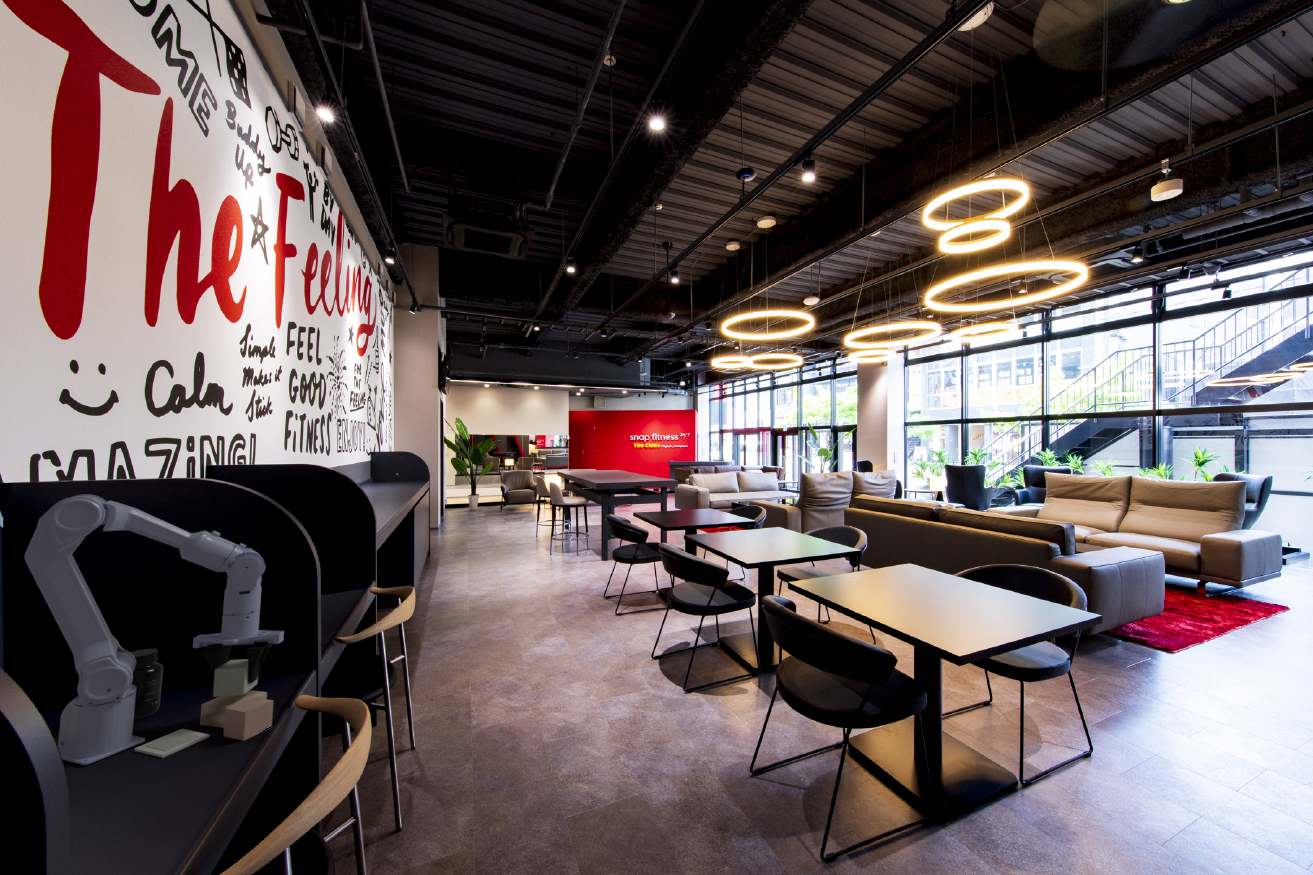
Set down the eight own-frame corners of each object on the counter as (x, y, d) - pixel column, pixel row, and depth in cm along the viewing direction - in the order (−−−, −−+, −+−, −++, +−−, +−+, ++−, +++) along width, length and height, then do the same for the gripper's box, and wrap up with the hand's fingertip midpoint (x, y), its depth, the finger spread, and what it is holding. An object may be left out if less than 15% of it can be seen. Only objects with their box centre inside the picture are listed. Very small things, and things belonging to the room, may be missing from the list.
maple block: (199, 725, 96) (201, 703, 96) (236, 708, 102) (238, 688, 103) (230, 729, 94) (231, 707, 95) (265, 712, 101) (267, 692, 101)
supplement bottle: (98, 725, 95) (105, 659, 96) (128, 708, 101) (134, 647, 102) (142, 722, 96) (147, 657, 97) (168, 705, 103) (173, 645, 104)
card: (134, 750, 86) (134, 747, 86) (182, 730, 93) (182, 728, 93) (162, 757, 84) (162, 754, 85) (209, 736, 91) (209, 733, 91)
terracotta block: (223, 736, 92) (225, 708, 92) (252, 723, 96) (253, 696, 97) (243, 740, 90) (245, 712, 91) (271, 727, 95) (273, 700, 95)
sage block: (212, 696, 96) (215, 669, 96) (228, 685, 101) (230, 660, 101) (243, 694, 97) (245, 667, 97) (257, 683, 102) (259, 658, 102)
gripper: (184, 619, 94) (178, 693, 93) (273, 615, 98) (268, 687, 97) (208, 609, 101) (202, 678, 100) (290, 606, 104) (285, 673, 104)
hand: (236, 682), depth 99 cm, fingers closed on sage block, 5 cm apart
